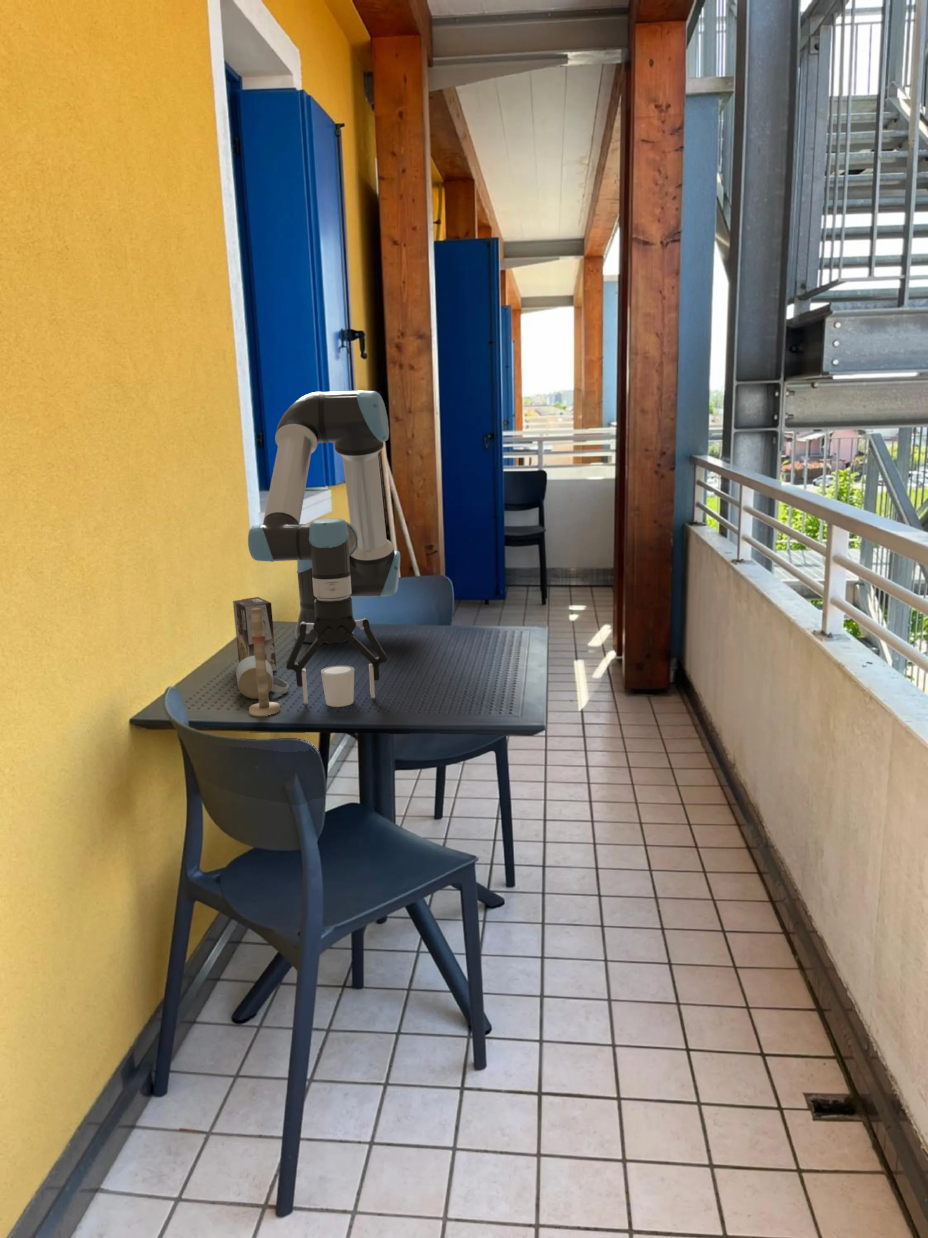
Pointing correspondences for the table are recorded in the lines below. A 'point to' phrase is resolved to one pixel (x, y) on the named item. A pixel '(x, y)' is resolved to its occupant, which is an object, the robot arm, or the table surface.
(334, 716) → the table surface
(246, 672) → the ceramic mug
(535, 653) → the table surface
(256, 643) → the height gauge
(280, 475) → the robot arm
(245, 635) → the coffee box
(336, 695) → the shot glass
